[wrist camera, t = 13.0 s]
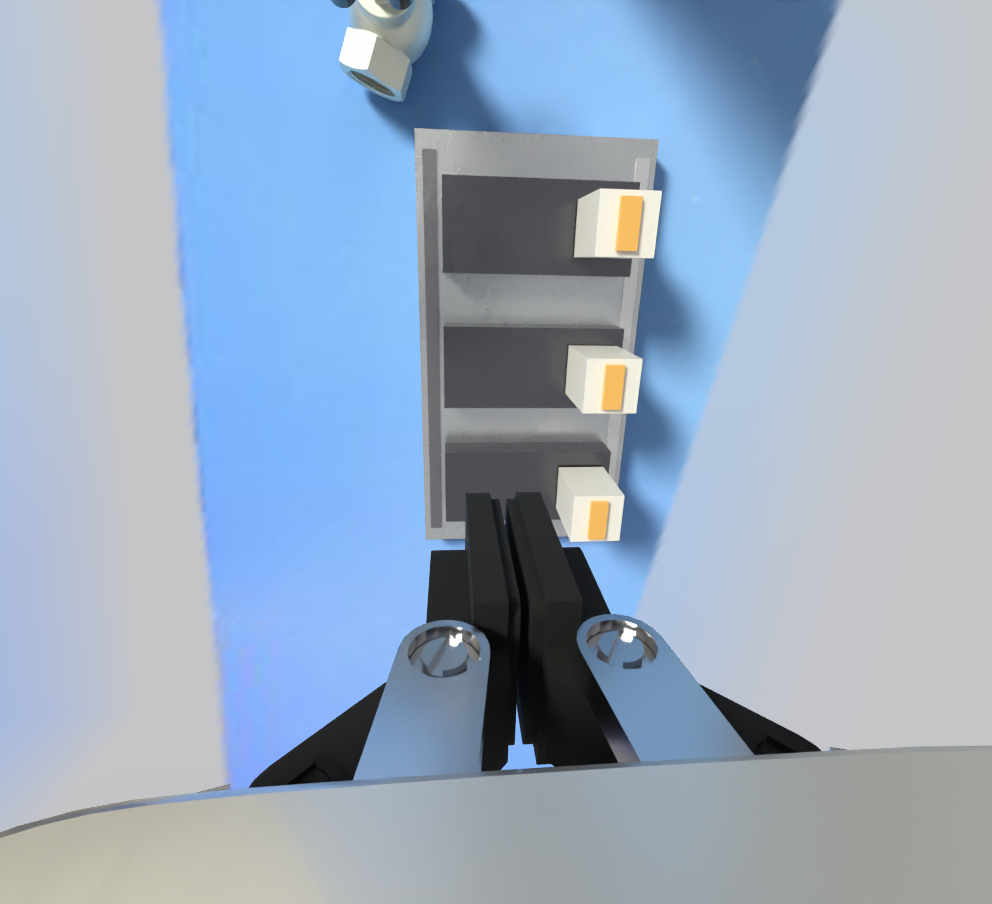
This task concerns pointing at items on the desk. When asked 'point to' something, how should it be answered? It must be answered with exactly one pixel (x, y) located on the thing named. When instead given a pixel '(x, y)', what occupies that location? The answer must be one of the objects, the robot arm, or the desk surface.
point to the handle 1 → (617, 224)
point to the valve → (385, 43)
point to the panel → (515, 311)
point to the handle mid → (603, 379)
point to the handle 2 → (589, 504)
